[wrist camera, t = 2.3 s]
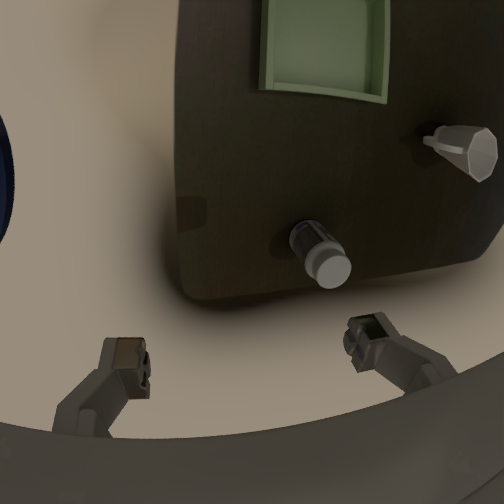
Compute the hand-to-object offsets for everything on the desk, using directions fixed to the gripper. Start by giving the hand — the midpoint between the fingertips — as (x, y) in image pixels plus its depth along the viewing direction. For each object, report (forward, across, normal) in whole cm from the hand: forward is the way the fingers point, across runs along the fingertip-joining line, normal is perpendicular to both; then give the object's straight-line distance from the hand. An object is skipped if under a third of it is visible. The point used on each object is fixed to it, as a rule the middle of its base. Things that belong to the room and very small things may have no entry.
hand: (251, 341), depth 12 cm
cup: (+24, -30, -6) cm, 39 cm away
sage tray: (+24, -12, -16) cm, 31 cm away
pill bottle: (+24, -12, +8) cm, 28 cm away
